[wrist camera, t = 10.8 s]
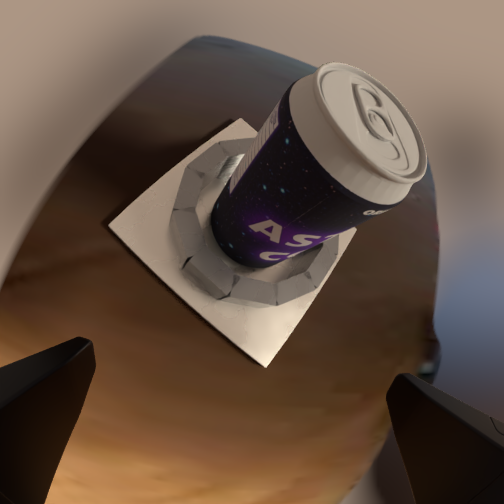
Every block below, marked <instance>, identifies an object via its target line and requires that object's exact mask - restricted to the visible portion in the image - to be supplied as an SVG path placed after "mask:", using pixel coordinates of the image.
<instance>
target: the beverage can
mask: <svg viewBox="0 0 504 504" xmlns="http://www.w3.org/2000/svg"><path fill="white" fill-rule="evenodd" d="M426 167H427V154H426V148H425V145H424V142H423V139H422V136H421V134H420V132H419V130H418V128H417V125H416V124H415V122H414V120H413V119H412V117H411V116H410V114H409V113H408V111H407V110H406V108H405V107H404V106H403V104H402V103H401V102H400V101H399V100H398V99H397V98H396V96H394V94H393V93H392V92H391V91H390V90H389V89H387V88H386V87H385V86H384V85H383V84H382V83H380V82H379V81H378V80H377V79H375V78H374V77H372V76H371V75H369V74H368V73H366V72H364V71H362V70H361V69H358V68H356V67H354V66H351V65H348V64H345V63H338V62H331V63H326V64H324V65H322V66H320V67H319V68H318V69H317V70H316V72H315V73H314V74H311V75H309V76H306V77H303V78H301V79H299V80H297V81H295V82H294V83H293V84H292V85H291V86H290V87H289V88H288V90H287V91H286V92H285V94H284V95H283V97H282V98H281V100H280V101H279V103H278V104H277V106H276V107H275V108H274V110H273V111H272V113H271V114H270V116H269V117H268V119H267V120H266V122H265V123H264V125H263V126H262V128H261V129H260V131H259V132H258V134H257V136H256V137H255V139H254V140H253V142H252V143H251V145H250V146H249V148H248V149H247V151H246V153H245V154H244V156H243V157H242V159H241V161H240V162H239V164H238V165H237V167H236V169H235V170H234V172H233V173H232V175H231V177H230V178H229V180H228V182H227V183H226V185H225V187H224V188H223V190H222V191H221V193H220V195H219V197H218V198H217V200H216V202H215V204H214V206H213V209H212V214H211V227H212V231H213V235H214V237H215V240H216V242H217V243H218V245H219V247H220V248H221V249H222V251H223V252H224V253H225V254H226V255H227V256H228V257H230V258H231V259H232V260H234V261H235V262H237V263H239V264H241V265H244V266H247V267H251V268H267V267H271V266H273V265H276V264H278V263H280V262H282V261H284V260H286V259H288V258H290V257H293V256H295V255H297V254H299V253H301V252H303V251H305V250H307V249H309V248H312V247H314V246H316V245H318V244H320V243H322V242H324V241H326V240H328V239H330V238H332V237H334V236H336V235H338V234H341V233H343V232H345V231H347V230H349V229H351V228H353V227H355V226H357V225H359V224H361V223H363V222H365V221H367V220H369V219H371V218H373V217H375V216H377V215H379V214H381V213H383V212H385V211H387V210H389V209H391V208H393V207H395V206H397V205H398V204H400V203H401V202H402V201H403V200H404V198H405V197H406V195H407V193H408V191H409V190H410V188H411V186H412V184H413V183H414V182H417V181H419V180H420V179H421V178H422V177H423V175H424V174H425V171H426Z"/></svg>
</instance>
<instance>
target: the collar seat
mask: <svg viewBox="0 0 504 504" xmlns="http://www.w3.org/2000/svg"><path fill="white" fill-rule="evenodd" d="M257 134H258V132H257V131H255V130H254V129H253V128H252V127H251V126H250V125H248V124H247V123H246V122H245V121H244V120H242V119H241V118H240V119H238V120H237V121H235V122H234V123H232V124H231V125H229V126H228V127H227V128H225V129H224V130H222V131H221V132H219V133H218V134H217V135H215V136H214V137H213V138H211V139H210V140H208V141H207V142H206V143H204V144H203V145H202V146H200V147H199V148H198V149H196V150H195V151H194V152H192V153H191V154H190V155H189V156H187V157H186V158H185V159H183V160H182V161H181V162H180V163H178V164H177V165H176V166H175V167H173V168H172V169H171V170H170V171H168V172H167V173H166V174H165V175H164V176H162V177H161V178H160V179H159V180H158V181H156V182H155V183H154V184H153V185H152V186H151V187H149V188H148V189H147V190H146V191H145V192H144V193H143V194H141V195H140V196H139V197H138V198H137V199H136V200H135V201H134V202H132V203H131V204H130V205H129V206H128V207H127V208H126V209H125V210H124V211H123V212H122V213H121V214H120V215H118V216H117V217H116V218H115V219H114V220H113V221H112V222H111V223H110V224H109V225H108V226H109V228H110V229H111V231H112V232H113V233H114V234H115V235H116V236H117V237H118V238H119V239H120V240H121V241H122V242H123V243H124V244H125V245H126V246H127V247H128V248H129V249H130V250H131V251H132V252H133V253H134V254H135V255H136V256H137V257H138V258H139V259H140V260H141V261H142V262H143V263H144V264H145V265H146V266H147V267H148V268H149V269H150V270H151V271H152V272H153V273H154V274H155V275H156V276H157V277H158V278H159V279H160V280H161V281H163V282H164V283H165V284H166V285H167V286H168V287H169V288H170V289H171V290H172V291H173V292H174V293H175V294H177V295H178V296H179V297H180V298H181V299H182V300H183V301H184V302H185V303H186V304H188V305H189V306H190V307H191V308H192V309H193V310H194V311H195V312H197V313H198V314H199V315H200V316H201V317H202V318H203V319H205V320H206V321H207V322H208V323H209V324H210V325H212V326H213V327H214V328H215V329H216V330H218V331H219V332H220V333H221V334H222V335H223V336H225V337H226V338H227V339H228V340H230V341H231V342H232V343H233V344H234V345H236V346H237V347H238V348H239V349H241V350H242V351H243V352H244V353H246V354H247V355H248V356H249V357H251V358H252V359H253V360H255V361H256V362H257V363H258V364H260V365H261V366H262V367H265V368H266V367H267V366H268V364H269V363H270V362H271V360H272V359H273V358H274V356H275V355H276V353H277V352H278V351H279V349H280V348H281V347H282V345H283V344H284V342H285V341H286V340H287V338H288V337H289V335H290V334H291V332H292V331H293V330H294V328H295V327H296V325H297V324H298V322H299V321H300V319H301V318H302V316H303V315H304V314H305V312H306V311H307V309H308V308H309V306H310V305H311V303H312V302H313V300H314V298H315V297H316V295H317V294H318V292H319V291H320V289H321V288H322V286H323V285H324V283H325V281H326V280H327V278H328V277H329V275H330V273H331V272H332V270H333V269H334V267H335V265H336V264H337V262H338V261H339V259H340V257H341V256H342V254H343V252H344V251H345V249H346V247H347V246H348V244H349V242H350V240H351V239H352V237H353V235H354V234H355V232H356V230H357V229H356V228H355V227H353V228H351V229H349V230H347V231H345V232H343V233H341V234H338V235H336V236H334V237H332V238H330V239H328V240H326V241H324V242H322V243H320V244H318V245H316V246H314V247H312V248H309V249H307V250H305V251H303V252H301V253H299V254H297V255H295V256H293V257H290V258H288V259H286V260H284V261H282V262H280V263H278V264H276V265H273V266H271V267H267V268H251V267H247V266H244V265H241V264H239V263H237V262H235V261H234V260H232V259H231V258H230V257H228V256H227V255H226V254H225V253H224V252H223V251H222V249H221V248H220V247H219V245H218V243H217V242H216V240H215V237H214V235H213V231H212V227H211V214H212V209H213V206H214V204H215V202H216V200H217V198H218V197H219V195H220V193H221V191H222V190H223V188H224V187H225V185H226V183H227V182H228V180H229V178H230V177H231V175H232V173H233V172H234V170H235V169H236V167H237V165H238V164H239V162H240V161H241V159H242V157H243V156H244V154H245V153H246V151H247V149H248V148H249V146H250V145H251V143H252V142H253V140H254V139H255V137H256V136H257Z"/></svg>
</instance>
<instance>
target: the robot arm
mask: <svg viewBox="0 0 504 504" xmlns="http://www.w3.org/2000/svg"><path fill="white" fill-rule="evenodd" d="M95 368H96V361H95V355H94V348H93V343H92V341H91V340H89V339H86V338H83V337H76V338H73V339H71V340H68V341H66V342H64V343H61V344H59V345H56V346H54V347H51V348H49V349H46V350H44V351H41V352H39V353H36V354H34V355H31V356H29V357H26V358H24V359H21V360H19V361H16V362H13V363H11V364H8V365H6V366H3V367H1V368H0V504H45V501H46V498H47V495H48V492H49V489H50V486H51V483H52V481H53V478H54V475H55V472H56V470H57V467H58V465H59V462H60V460H61V457H62V455H63V452H64V450H65V447H66V445H67V443H68V440H69V438H70V436H71V433H72V431H73V429H74V427H75V424H76V422H77V420H78V418H79V415H80V413H81V410H82V407H83V404H84V401H85V398H86V395H87V392H88V389H89V386H90V383H91V381H92V378H93V375H94V372H95ZM386 401H387V405H388V409H389V413H390V417H391V422H392V426H393V430H394V434H395V438H396V441H397V444H398V447H399V450H400V453H401V456H402V459H403V462H404V466H405V469H406V472H407V475H408V478H409V482H410V485H411V489H412V492H413V496H414V500H415V503H416V504H504V423H503V422H500V421H499V420H497V419H495V418H493V417H489V415H487V414H484V413H483V412H481V411H479V410H477V409H475V408H473V407H471V406H469V405H467V404H465V403H463V402H461V401H460V400H458V399H456V398H454V397H452V396H450V395H449V394H447V393H445V392H443V391H441V390H439V389H437V388H435V387H434V386H432V385H430V384H428V383H426V382H425V381H423V380H421V379H419V378H417V377H415V376H414V375H412V374H410V373H401V374H398V375H397V376H396V377H395V379H394V381H393V383H392V384H391V386H390V388H389V390H388V391H387V394H386Z"/></svg>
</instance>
